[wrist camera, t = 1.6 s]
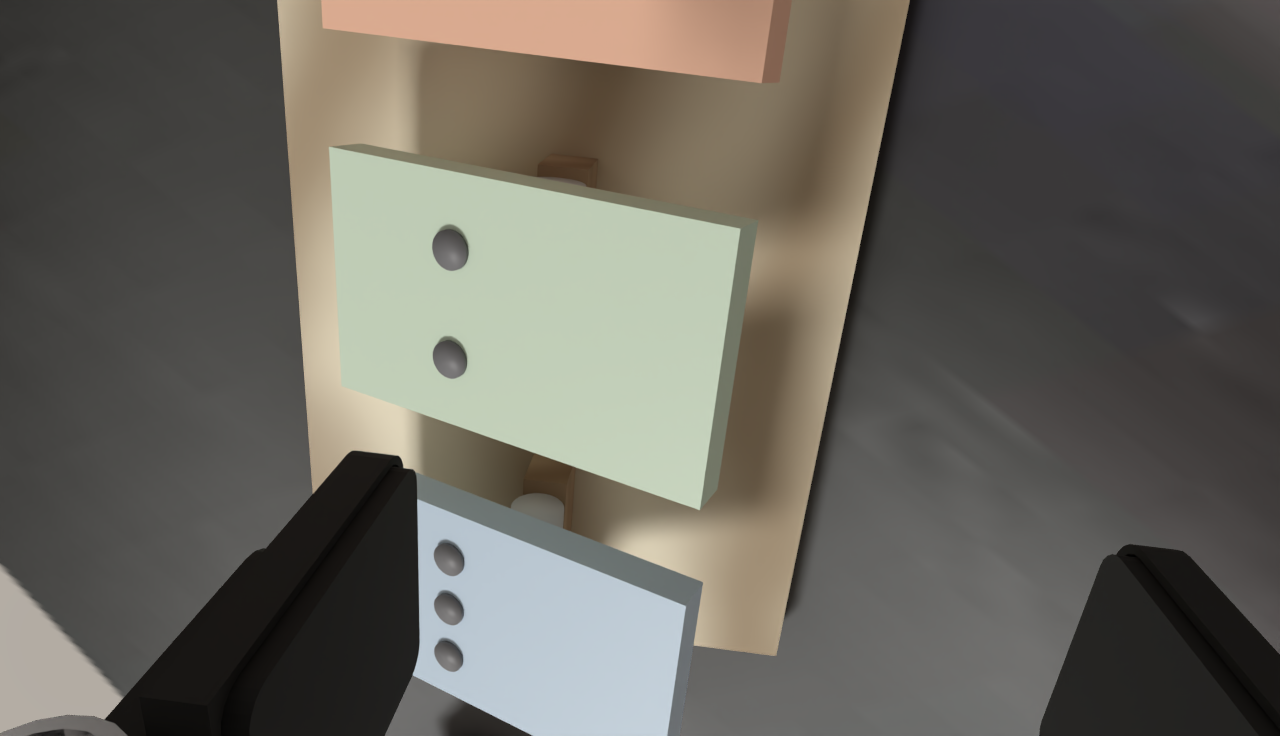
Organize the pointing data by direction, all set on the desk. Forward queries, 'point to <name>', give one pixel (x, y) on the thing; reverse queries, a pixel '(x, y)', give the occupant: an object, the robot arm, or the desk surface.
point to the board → (643, 167)
